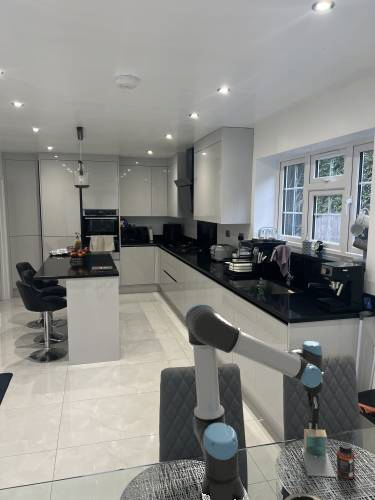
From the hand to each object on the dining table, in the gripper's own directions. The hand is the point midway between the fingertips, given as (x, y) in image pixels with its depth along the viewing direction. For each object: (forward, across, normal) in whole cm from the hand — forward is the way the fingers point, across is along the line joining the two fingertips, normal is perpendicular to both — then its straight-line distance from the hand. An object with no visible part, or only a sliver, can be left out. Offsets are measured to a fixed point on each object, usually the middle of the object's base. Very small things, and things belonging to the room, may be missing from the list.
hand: (313, 436), depth 147 cm
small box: (+6, -1, 0) cm, 6 cm away
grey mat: (+7, -6, 0) cm, 9 cm away
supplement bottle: (+7, -12, -9) cm, 17 cm away
